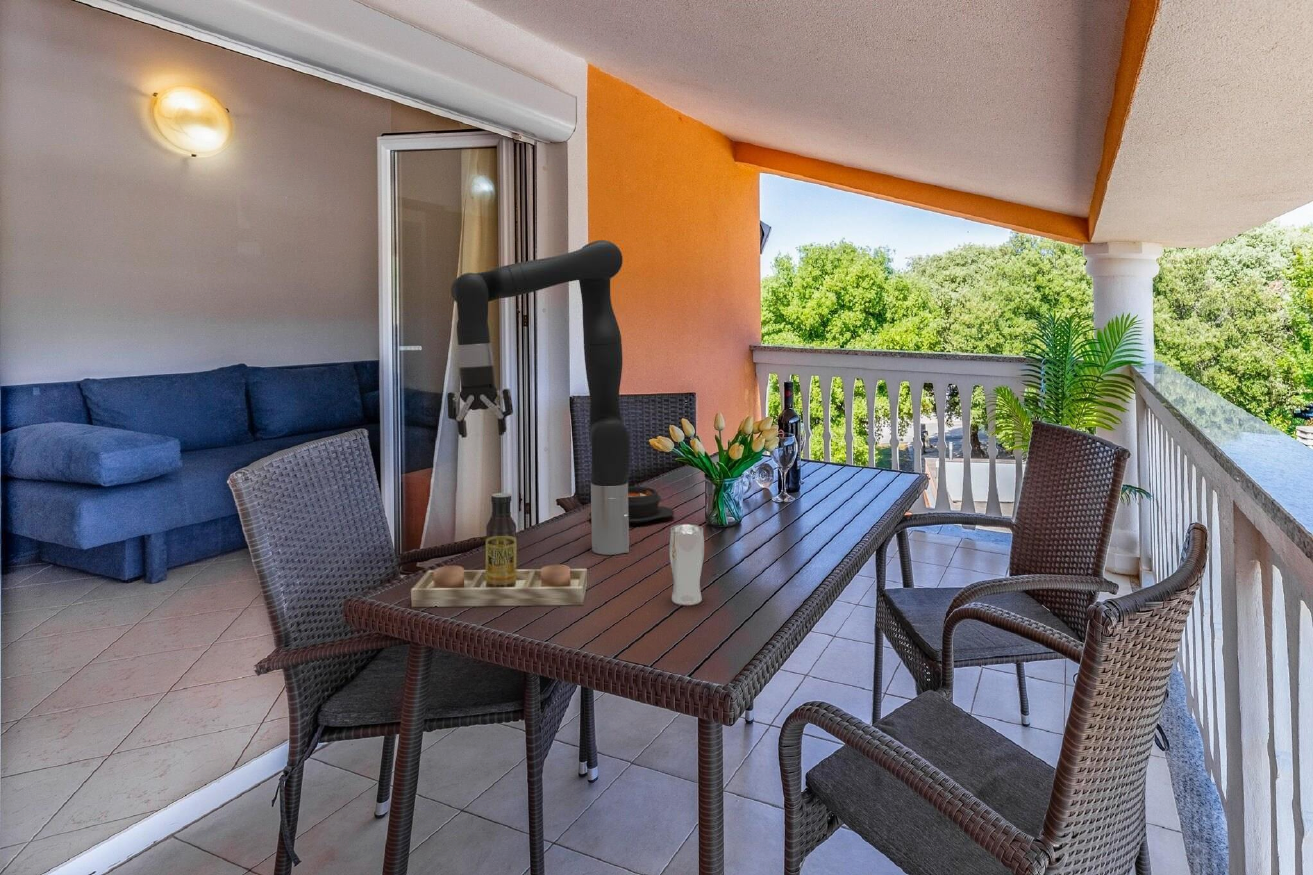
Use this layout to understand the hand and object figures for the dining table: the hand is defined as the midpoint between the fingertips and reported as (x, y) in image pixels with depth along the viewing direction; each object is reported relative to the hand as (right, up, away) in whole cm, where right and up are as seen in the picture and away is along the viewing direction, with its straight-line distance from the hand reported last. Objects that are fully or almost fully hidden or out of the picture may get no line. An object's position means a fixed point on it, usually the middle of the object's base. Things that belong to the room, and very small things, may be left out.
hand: (482, 436), depth 165 cm
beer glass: (+46, -34, -17) cm, 59 cm away
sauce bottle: (+7, -32, -14) cm, 36 cm away
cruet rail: (+8, -33, -14) cm, 37 cm away
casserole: (+32, -25, +47) cm, 62 cm away
